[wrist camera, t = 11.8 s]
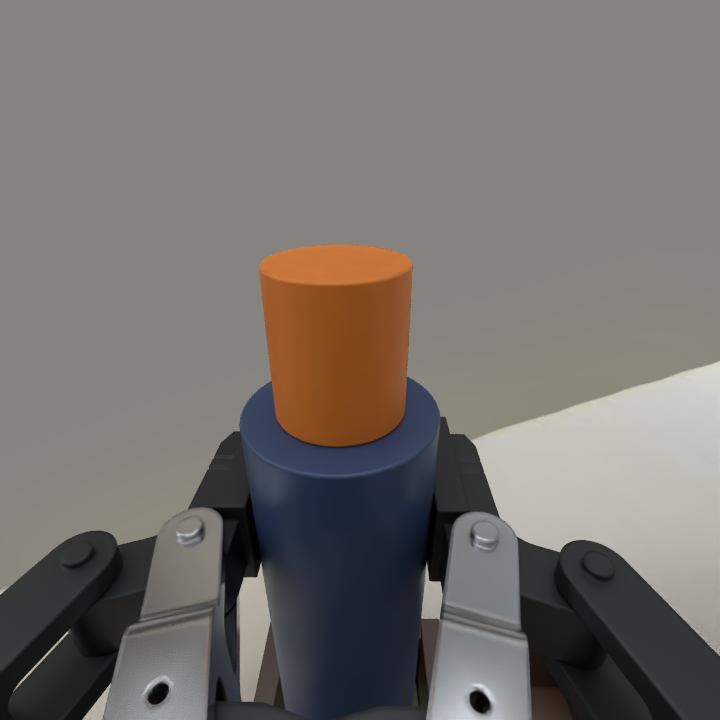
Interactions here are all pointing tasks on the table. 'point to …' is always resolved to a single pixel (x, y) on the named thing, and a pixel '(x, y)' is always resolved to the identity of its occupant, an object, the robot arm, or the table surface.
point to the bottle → (341, 477)
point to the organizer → (547, 699)
